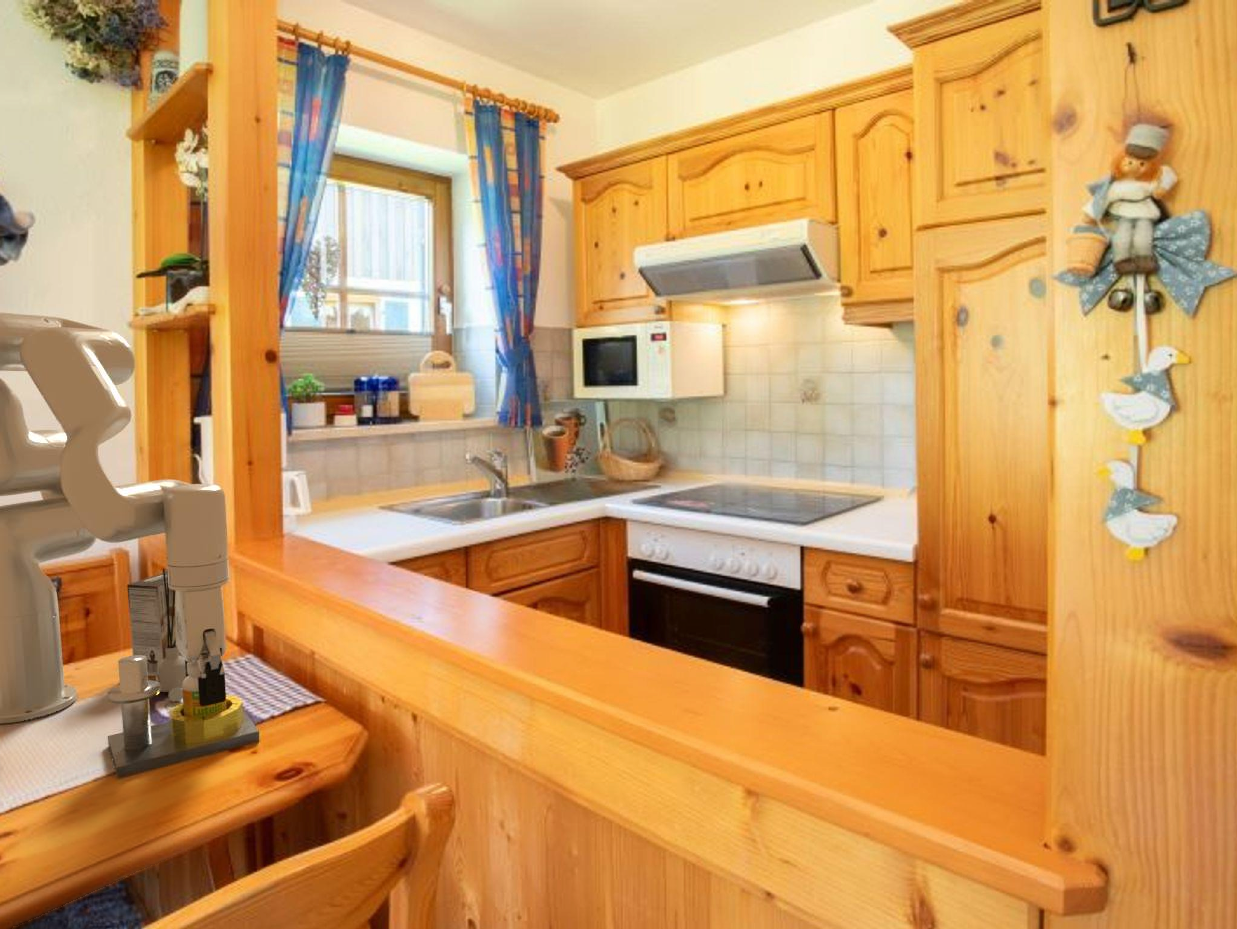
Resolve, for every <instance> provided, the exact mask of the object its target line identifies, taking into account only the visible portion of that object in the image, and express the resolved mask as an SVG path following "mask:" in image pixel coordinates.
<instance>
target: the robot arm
mask: <svg viewBox="0 0 1237 929" xmlns="http://www.w3.org/2000/svg"><path fill="white" fill-rule="evenodd" d="M135 359H136V358H135V355H134V352H133V350H132V348H131V346H130V344H129V343H128V342H127V341H126V339H124V338H123V337H122V336H121V335H119V334H118V333H116V332H114V331H112V330H109V329H105V328H102V327H98V326H94V325H90V324H87V323H86V324H85V323H83V322H82V323H81V322H79V321H73V320H70V319H67V318H63V317H62V318H61V317H58V316H57V317H56V316H45V315H35V314H34V315H33V314H20V313H11V312H0V372H2V371H3V372H4V371H5V372H7V371H8V372H27V374H28V375H29V377H30V378H31V380H32V382H33V383H34V385H35V386H36V388H37V389H38V391H39V393H40V395H41V396H42V398H43V399H44V401H45V403H46V405H47V406H48V408H49V410H50V411H51V413H52V414H53V416H54V417H55V418H56V419H55V420H56V421H57V422H58V424H59V425H60V427H61V429H62V430H63V431H61V430H58V429H57V430H56V429H39V430H29V428H28V425H27V424H26V420H25V414H24V410H23V409H24V408H23V405H22V402H21V400H20V398H19V396H18V395H17V394H16V393H15V391H14V390H13V389H12V388H11V387H10V385H9V384H8V383H7V382H5V381H4V380H3V379H2V378H0V497H7V496H9V497H10V496H15V495H23V494H29V493H35V492H36V493H37V492H40V494H41V497H42V499H39V500H38V499H37V500H32V501H24V502H19V503H18V502H17V503H10V504H4V505H0V724H11V723H12V724H13V723H19V722H25V721H29V720H28V719H30V720H34V719H33V718H35V717H39V716H42V717H45V716H47V715H46V714H49V715H50V714H51V713H52V714H54V713H57V712H59V711H61V710H64V709H65V708H67V707H69V706H70V705H72V704H73V703H74V702H75V701H76V700H77V698H78V691H77V689H76V688H75V686H73V685H69V684H65V676H64V664H63V652H62V650H63V649H62V641H61V640H62V638H61V626H60V612H59V602H58V593H57V590H56V587H55V584H54V583H53V581H52V580H51V579H50V578H49V576H47V575H46V572H45V573H44V571H43V570H42V568H41V567H40V566H39V564H42V563H45V562H48V561H53V560H56V559H57V560H58V559H60V558H65V557H70V556H73V555H76V554H80V553H83V552H86V551H87V550H89V549H90V548H92V547H93V545H94V544H95V543H96V542H97V539H98V540H100V541H102V542H106V543H110V544H113V543H114V544H117V543H123V542H128V541H132V540H138V539H141V538H144V537H148V536H154V535H161V534H165V535H164V536H165V550H166V552H165V553H166V563H167V564H166V565H167V566H166V567H167V569H166V571H167V570H168V587H169V589H172V590H175V625H176V646H177V648H178V650H179V652H180V653H181V655H182V656H183V658H184V659H185V670H186V677H188V676H189V675H188V674H187V663H188V662H189V663H190V662H192V660H196V659H197V661H198V666H199V671H200V677H198V689H199V704H200V706H202V707H203V706H208V705H212V704H216V703H221V702H224V701H225V700H226V694H227V690H226V689H225V688H226V675H225V669H224V664H223V663H224V662H223V659H222V657H223V656H224V655H225V654H226V649H227V648H226V647H227V646H226V645H227V642H226V641H227V640H226V622H225V621H226V620H225V609H224V608H225V607H224V598H223V586H225V585H226V584H228V583H229V582H230V565H229V564H230V563H229V549H228V548H229V547H228V546H229V545H228V527H227V525H228V524H227V510H226V509H227V508H226V495H225V491H224V489H223V488H222V487H220V486H219V485H216V484H212V483H211V484H209V483H189V482H185V481H182V480H177V479H171V478H170V479H169V478H167V479H163V478H162V479H158V480H157V479H155V480H150V481H142V482H133V483H128V484H121V485H116V486H115V485H114V483H113V482H112V481H111V479H110V478H109V476H108V474H107V473H106V471H105V470H104V468H103V466H102V463H101V461H100V457H99V451H98V450H99V446H100V445H101V444H103V443H105V442H107V441H109V440H110V439H112V438H113V437H115V436H117V435H118V434H120V433H121V432H122V431H123V430H124V429H125V428H126V427H127V426H128V425H129V424H130V422H131V421H132V411H131V408H130V407H129V405H128V404H127V403H126V401H125V399H124V398H123V396H122V394H121V393H120V391H119V390H118V388H117V386H119V385H122V384H124V383H126V382H127V381H128V380H129V379H131V377H132V376H133V374H134V372H135V368H136V367H135V366H136V360H135ZM204 661H209V662H206V665H205V666H204ZM56 711H57V712H56ZM44 715H45V716H44ZM39 718H40V717H39ZM35 719H36V718H35ZM24 720H25V721H24Z"/></svg>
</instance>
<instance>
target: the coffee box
mask: <svg viewBox="0 0 1237 929" xmlns="http://www.w3.org/2000/svg"><path fill="white" fill-rule="evenodd" d="M165 578H166V588H167V571H165ZM126 587H127V598H128V611H129V622H130V623H129V625H130V636H131V648H132V656H133V655H144V656H146V660H147V675H148V677H156V676H157V672H156V670H157V665H158V664H159V663H160V662H161V661H162V660H164V659H165V658H166V649H165V647H166V646H168V645H167V607H166V597H165V587H164V577H163V572H162V573H159V574H155V575H152V576H149V577H146V578H144V579H140V580H137V581H135V582H134V581H133V582H131V583H128V584H126ZM172 606H173V590H172V589H169V618H170V628H171V624H172ZM175 638H176V625H175V604H174V622H173V639H172V645H173V644H174V641H175ZM175 644H176V643H175ZM169 645H170V637H169ZM179 656H181V657H183V656H182V655H181V653H180V652H179Z"/></svg>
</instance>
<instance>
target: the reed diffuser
mask: <svg viewBox="0 0 1237 929" xmlns="http://www.w3.org/2000/svg"><path fill="white" fill-rule="evenodd" d="M165 572H167V588H166V578H165ZM162 573H163V577H164V587H165V597H166V607H167V645H168V646H166V647H165V649H166V658H165V659H164V660H162V661H161V662H160V663H159V664H158V665H157V670H156V672H157V676H155V681H157V682H159V683H160V689H161V690H160V692H163V693H166V692H167V693H168V698H169V700H170V701H172V702H175V701H177V702H180V701H182V700H183V691H182V684H183V681H184V679H185V678H186V670H185V659H184V658H183V657H181V656H179V650H178V648H177V646H176V644H175V643H176V638H175V641H174V644H173V645H172V639H173V622H174V604H175V590H173V606H172V624H171V628H170V618H169V587H168V570H167V569H166V571H165V568H162ZM169 637H170V645H169ZM181 699H182V700H181Z"/></svg>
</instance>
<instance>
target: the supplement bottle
mask: <svg viewBox="0 0 1237 929" xmlns="http://www.w3.org/2000/svg"><path fill="white" fill-rule="evenodd" d="M206 662H209V661H204V666H205V665H206ZM187 674H188V675H189V676H188V677H186V678H185V679H184V681H183V684H182V691H183V699H182V703H183V708H184V716H185V717H190V718H197V717H207V716H211V715H215V714H219V713H221V712H223V711H225V710H227V708H226V700H225V701H224V702H221V703H216V704H212V705H208V706H203V707H202V706H200V704H199V689H198V677H200V671H199V666H198V661H197V659H196V660H192V662H190V663H189V662H188V663H187ZM225 689H226V687H225Z"/></svg>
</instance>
